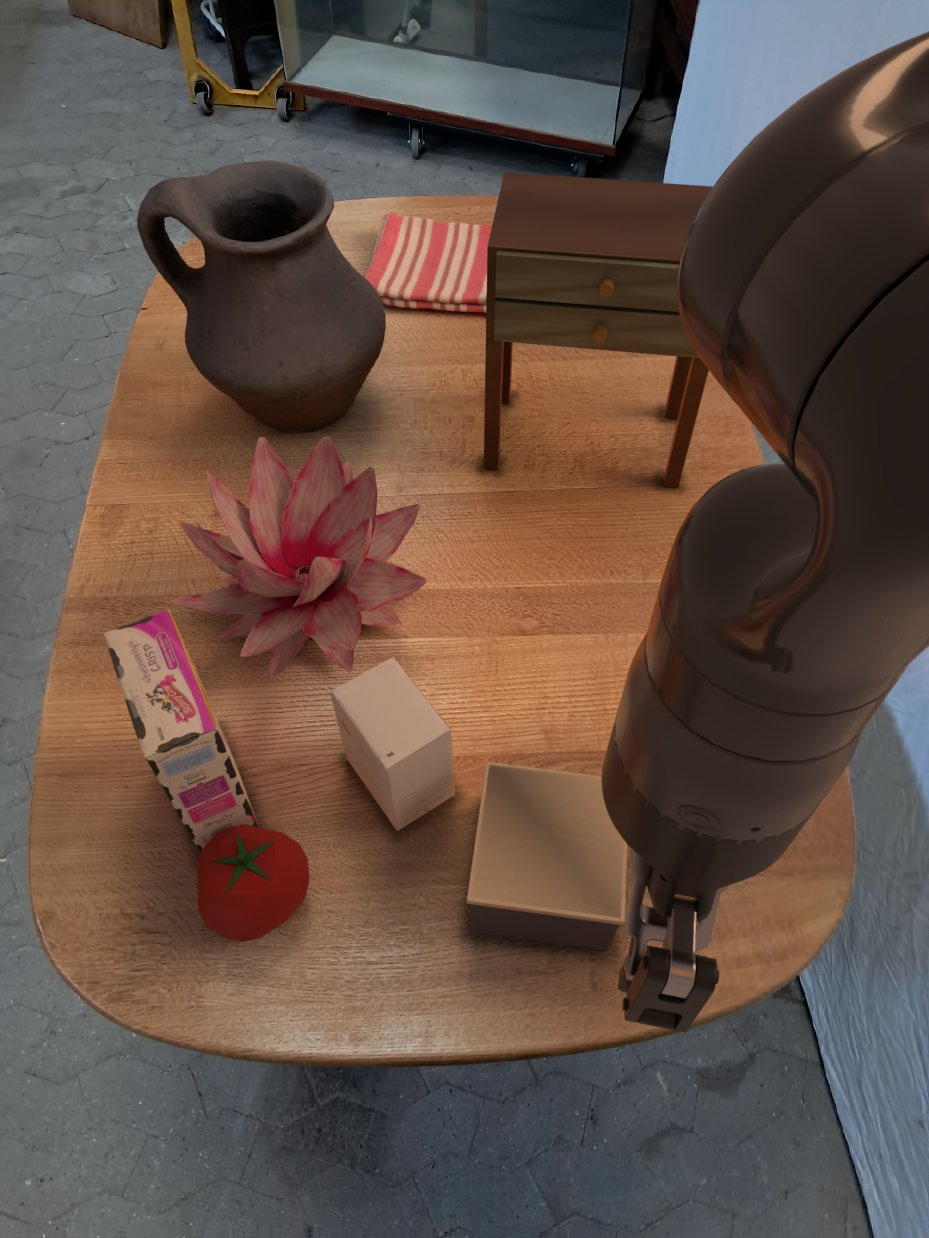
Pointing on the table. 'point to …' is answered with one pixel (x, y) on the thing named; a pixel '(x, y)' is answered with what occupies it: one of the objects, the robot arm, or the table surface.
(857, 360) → the robot arm
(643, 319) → the drawer unit
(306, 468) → the decorative flower
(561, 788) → the storage box
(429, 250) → the dish towel
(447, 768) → the small box
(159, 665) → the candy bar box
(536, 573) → the table surface
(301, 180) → the pitcher
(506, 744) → the table surface
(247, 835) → the tomato
